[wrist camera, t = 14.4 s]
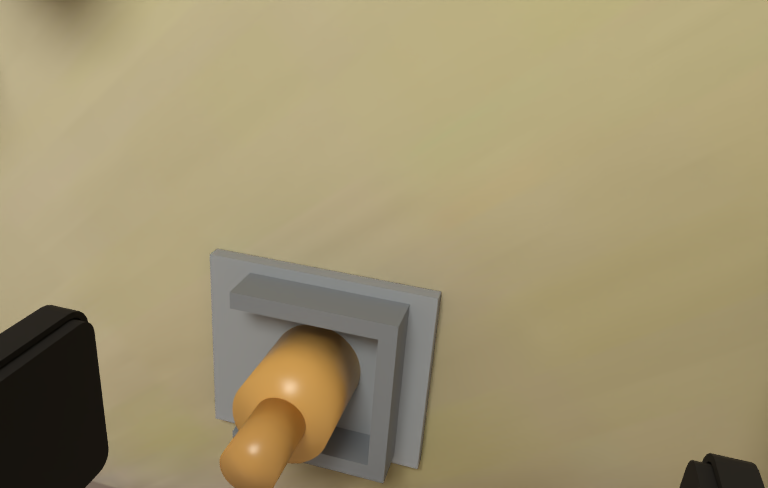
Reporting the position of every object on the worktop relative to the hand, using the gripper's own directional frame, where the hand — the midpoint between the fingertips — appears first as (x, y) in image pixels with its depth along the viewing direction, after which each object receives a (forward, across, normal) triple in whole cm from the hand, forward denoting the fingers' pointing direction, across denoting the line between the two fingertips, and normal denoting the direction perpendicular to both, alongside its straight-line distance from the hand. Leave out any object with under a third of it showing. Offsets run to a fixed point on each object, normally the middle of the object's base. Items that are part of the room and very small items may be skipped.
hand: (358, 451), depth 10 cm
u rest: (+30, +11, +20) cm, 38 cm away
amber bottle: (+29, +11, +20) cm, 37 cm away
